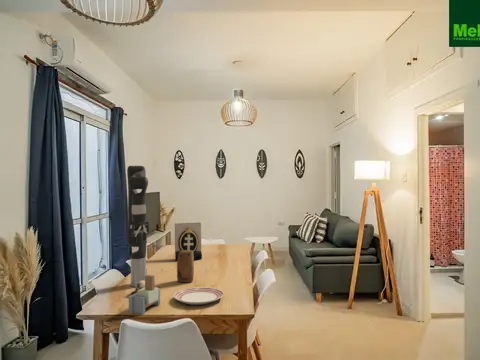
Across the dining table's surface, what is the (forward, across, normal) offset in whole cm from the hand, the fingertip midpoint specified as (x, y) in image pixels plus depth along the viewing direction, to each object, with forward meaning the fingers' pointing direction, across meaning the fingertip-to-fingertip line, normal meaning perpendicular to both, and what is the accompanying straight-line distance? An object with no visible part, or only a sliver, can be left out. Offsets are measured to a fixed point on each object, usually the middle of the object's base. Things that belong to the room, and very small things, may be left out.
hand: (139, 242), depth 192 cm
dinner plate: (+32, -11, +30) cm, 46 cm away
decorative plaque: (+35, -95, -24) cm, 104 cm away
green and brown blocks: (+28, +10, +12) cm, 32 cm away
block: (+33, -38, +6) cm, 51 cm away
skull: (+33, -8, -6) cm, 34 cm away
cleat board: (+31, +11, +11) cm, 35 cm away
